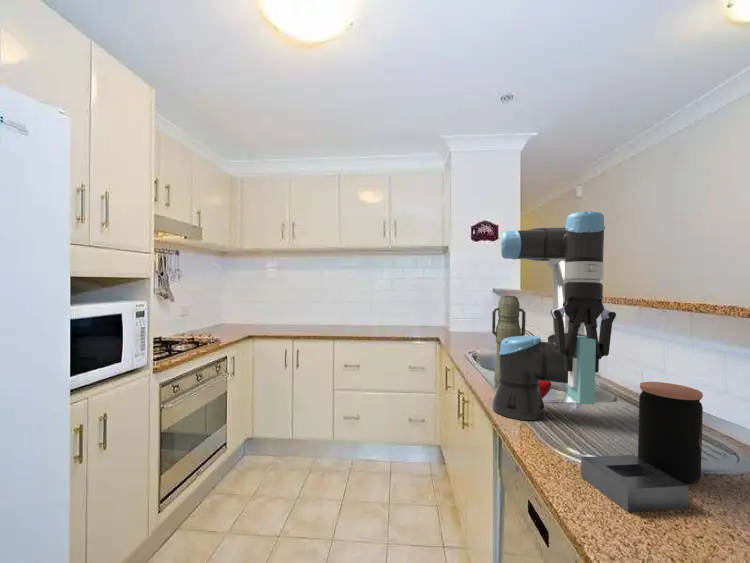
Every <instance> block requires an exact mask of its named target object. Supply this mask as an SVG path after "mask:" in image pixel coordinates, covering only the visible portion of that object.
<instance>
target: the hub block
mask: <svg viewBox="0 0 750 563" xmlns="http://www.w3.org/2000/svg"><path fill="white" fill-rule="evenodd" d="M580 459H581V460H580V461H581V462H580V478H582V479H583V480H585V481H586V482H587V483H588V484H590V485H592V487H594V488H595V489H597V490H598V491H599V492H601V493H602V494H603V495H604V496H606V497H607V498H608V499H610V500H611V501H613V502H614V503H615V504H616V505H617V506H619V507H621V509H622V510H624V511H625V512H626V513H633V512H647V511H648V512H649V511H664V510H665V511H666V510H667V511H668V510H680V509H681V510H682V509H688V507H689V484H684V483H682V482H680V481H679V480H677V479H675V478H673V477H672V476H670V475H668V474H666V473H665V472H663V471H661V470H659V469H657V468H656V467H654V466H652V465H650V464H649V463H647V462H645V461H643V460H641V459H640V458H638V456H636V455H635V454H625V455H624V454H623V455H622V454H621V455H599V456H598V455H595V456H581V458H580Z"/></svg>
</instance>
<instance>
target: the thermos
mask: <svg viewBox="0 0 750 563" xmlns="http://www.w3.org/2000/svg"><path fill="white" fill-rule="evenodd" d="M497 312H498V313H497ZM520 312H521V313H522V314H521V325H520ZM496 313H497V315H498V320H497V324H496V316H497V315H496ZM491 315H492V316H491V317H492V318H491V319H492V320H491V333H492V334H493V336H495V342H496V365H495V368H494V388H495V387H496V388H498V386H499V371H500V355H499V352H500V345H501V341H502V340H503V339H505V338H508V337H514V336H526V318H527V317H526V311H525V310H524V309H523V308H520V301H519V298H518V297H516V295H502V296H500V298H499V301H498V306H497V308H494V309H493V311H492V313H491ZM496 388H495V389H496Z"/></svg>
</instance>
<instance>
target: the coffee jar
mask: <svg viewBox="0 0 750 563" xmlns="http://www.w3.org/2000/svg"><path fill="white" fill-rule="evenodd" d="M639 389H640V390H641V391H642V392H640V394H639V397H638V398H639V399H638V400H639V401H638V403H639V404H638V435H637V437H638V438H637V440H638V441H637V457H638V458H640V459H641V460H643V461H645V462H647V463H649V464H650V465H652V466H654V467H656V468H657V469H659V470H661V471H663V472H665V473H666V474H668V475H670V476H672V477H673V478H675V479H677V480H679V481H680V482H682V483H684V484H686V485H690V484H694V483H696V482H697V481H698V480H700V478H701V476H702V446H703V444H702V442H703V412H704V411H703V409H704V408H703V405H702V403H701V400H702V399H703V396H704V394H703V392H702V391H701V390H699V389H695V388H693V387H690V386H685V385H681V384H675V383H669V382H662V381H661V382H660V381H643V382H640V384H639Z"/></svg>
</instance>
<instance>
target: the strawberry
mask: <svg viewBox="0 0 750 563" xmlns="http://www.w3.org/2000/svg"><path fill="white" fill-rule="evenodd" d="M551 387H552V382H550V381H541V380H540V381H539V390H540V394H541V397H542V400H543V398H545V396H546V395H548V394H549V392H550V391H551Z"/></svg>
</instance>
